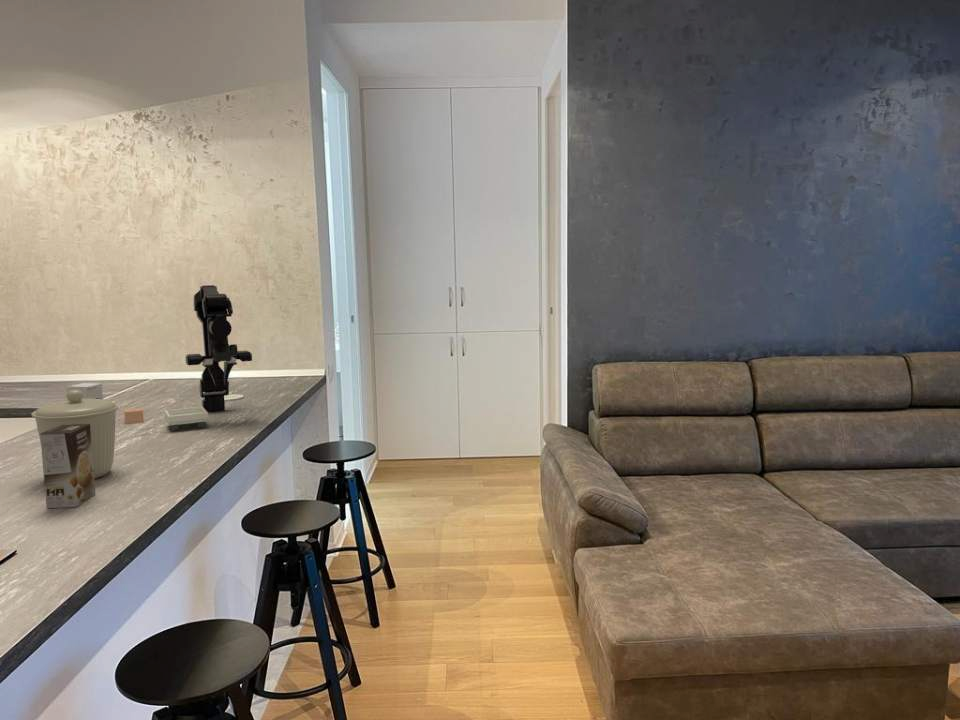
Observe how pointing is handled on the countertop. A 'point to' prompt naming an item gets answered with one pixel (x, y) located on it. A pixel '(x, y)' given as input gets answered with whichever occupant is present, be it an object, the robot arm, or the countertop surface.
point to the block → (133, 415)
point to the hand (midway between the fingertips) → (220, 385)
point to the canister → (84, 412)
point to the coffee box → (67, 465)
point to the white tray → (186, 417)
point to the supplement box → (88, 390)
